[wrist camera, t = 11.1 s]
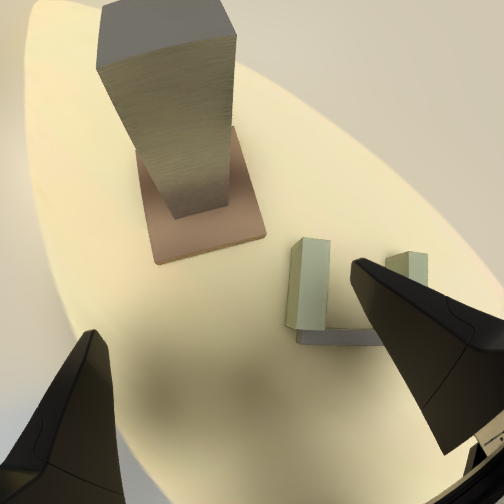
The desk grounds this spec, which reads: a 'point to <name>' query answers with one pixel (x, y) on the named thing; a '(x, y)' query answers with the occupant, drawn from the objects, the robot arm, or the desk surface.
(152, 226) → the walnut board
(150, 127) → the stepped metal bracket
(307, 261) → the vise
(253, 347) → the desk surface
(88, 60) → the desk surface
